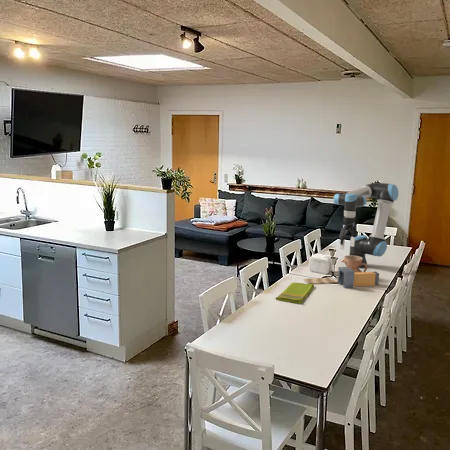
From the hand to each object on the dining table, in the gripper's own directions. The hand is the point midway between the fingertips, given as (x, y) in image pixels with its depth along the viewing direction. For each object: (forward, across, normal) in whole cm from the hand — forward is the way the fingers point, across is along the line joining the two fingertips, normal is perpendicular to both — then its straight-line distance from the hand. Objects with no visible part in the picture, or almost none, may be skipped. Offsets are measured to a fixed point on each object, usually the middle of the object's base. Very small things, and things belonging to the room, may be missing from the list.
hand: (347, 247), depth 314 cm
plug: (+22, +3, +16) cm, 27 cm away
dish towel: (+22, +52, -4) cm, 57 cm away
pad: (+22, +20, -7) cm, 30 cm away
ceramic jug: (+22, -7, +2) cm, 23 cm away
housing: (+22, +14, +8) cm, 27 cm away
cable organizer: (+22, -2, -21) cm, 30 cm away
